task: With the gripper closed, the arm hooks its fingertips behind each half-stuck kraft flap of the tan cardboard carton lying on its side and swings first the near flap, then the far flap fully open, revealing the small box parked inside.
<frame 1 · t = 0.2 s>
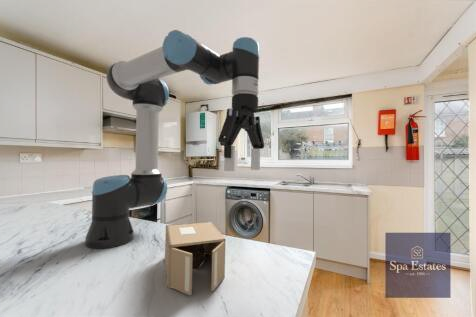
hand: (243, 170, 62), 27 cm above the counter, fingers open, 13 cm apart
flap far: (218, 265, 52), point 5 cm above the counter, hinge at 50.0°
carton: (192, 267, 61), on the counter
flap near: (181, 270, 49), point 5 cm above the counter, hinge at 50.0°
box: (191, 264, 63), resting in carton
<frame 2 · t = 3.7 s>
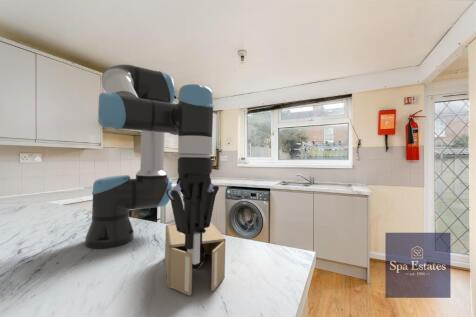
hand: (193, 261, 49), 7 cm above the counter, fingers closed
flap near: (180, 270, 49), point 5 cm above the counter, hinge at 50.7°, touching gripper
everything else where it was.
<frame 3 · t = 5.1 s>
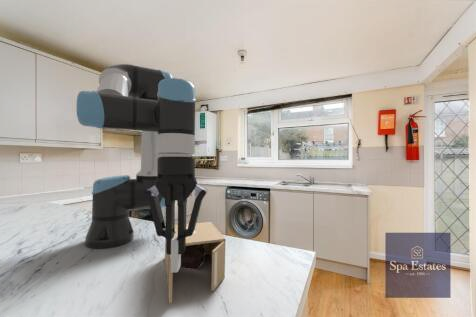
hand: (175, 268, 45), 7 cm above the counter, fingers closed
flap near: (170, 274, 48), point 5 cm above the counter, hinge at 93.6°, touching gripper
everything else where it was.
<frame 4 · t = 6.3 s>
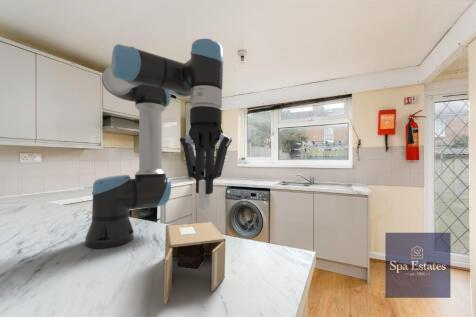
hand: (204, 207, 52), 19 cm above the counter, fingers closed
flap near: (168, 274, 48), point 5 cm above the counter, hinge at 102.9°
everything else where it was.
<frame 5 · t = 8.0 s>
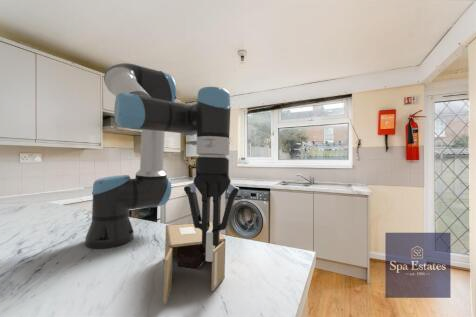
hand: (210, 258, 50), 8 cm above the counter, fingers closed
flap far: (218, 265, 52), point 5 cm above the counter, hinge at 50.0°, touching gripper
flap near: (168, 274, 48), point 5 cm above the counter, hinge at 103.5°
everything else where it was.
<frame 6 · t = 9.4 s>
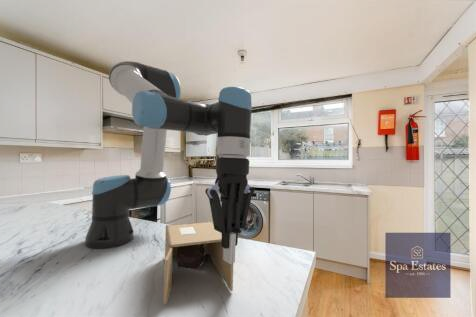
hand: (228, 261, 49), 7 cm above the counter, fingers closed
flap far: (227, 265, 52), point 5 cm above the counter, hinge at 91.7°, touching gripper
everything else where it was.
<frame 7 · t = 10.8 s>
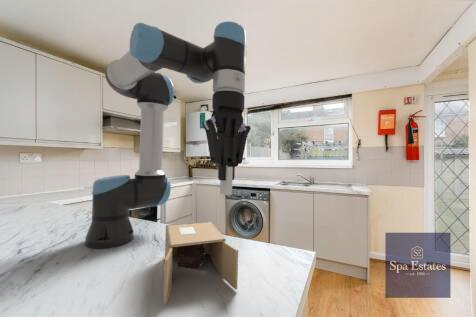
hand: (225, 194, 51), 22 cm above the counter, fingers closed
flap far: (230, 264, 53), point 5 cm above the counter, hinge at 103.1°
everything else where it was.
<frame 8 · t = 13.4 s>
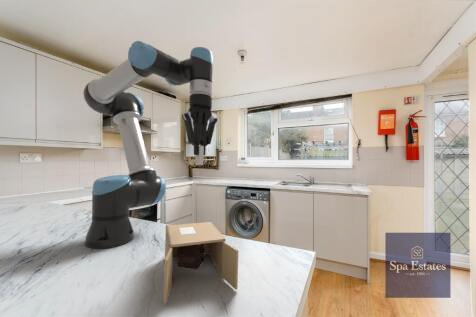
hand: (199, 164, 74), 28 cm above the counter, fingers closed
flap far: (230, 264, 53), point 5 cm above the counter, hinge at 103.5°
everything else where it was.
at the end: flap near at +104° (first picture: +50°); flap far at +104° (first picture: +50°); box moved 0.3 cm from its start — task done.
